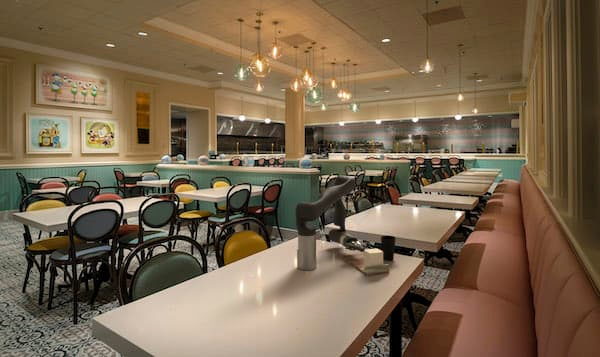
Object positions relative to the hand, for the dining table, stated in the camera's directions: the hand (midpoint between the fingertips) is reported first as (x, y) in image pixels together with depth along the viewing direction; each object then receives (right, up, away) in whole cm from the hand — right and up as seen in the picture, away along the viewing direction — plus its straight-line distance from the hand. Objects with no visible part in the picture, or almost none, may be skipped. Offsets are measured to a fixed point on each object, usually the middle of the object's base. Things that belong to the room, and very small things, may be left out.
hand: (363, 250), depth 179 cm
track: (0, -7, 0) cm, 7 cm away
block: (+3, -7, -9) cm, 12 cm away
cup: (+15, -7, +8) cm, 18 cm away
